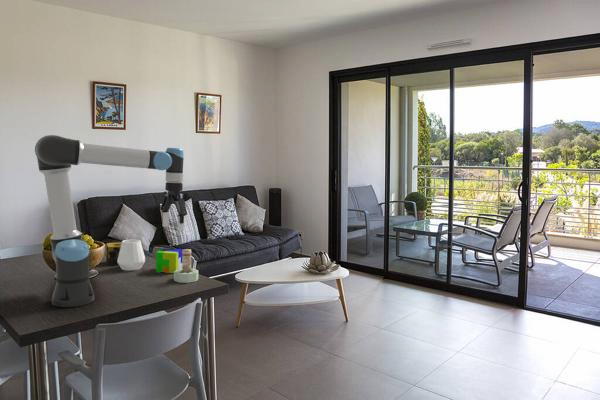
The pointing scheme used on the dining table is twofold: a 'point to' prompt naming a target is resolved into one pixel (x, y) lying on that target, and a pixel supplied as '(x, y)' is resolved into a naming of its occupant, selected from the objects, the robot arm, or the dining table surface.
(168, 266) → the puzzle toy
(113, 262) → the candle
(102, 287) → the dining table surface
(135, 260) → the cup
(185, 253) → the striped rounded cylinder
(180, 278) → the bead
